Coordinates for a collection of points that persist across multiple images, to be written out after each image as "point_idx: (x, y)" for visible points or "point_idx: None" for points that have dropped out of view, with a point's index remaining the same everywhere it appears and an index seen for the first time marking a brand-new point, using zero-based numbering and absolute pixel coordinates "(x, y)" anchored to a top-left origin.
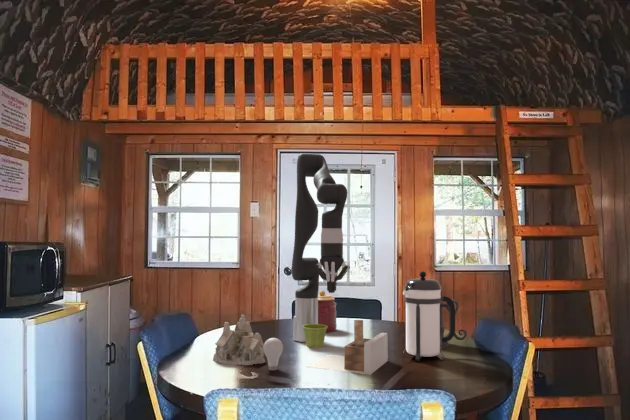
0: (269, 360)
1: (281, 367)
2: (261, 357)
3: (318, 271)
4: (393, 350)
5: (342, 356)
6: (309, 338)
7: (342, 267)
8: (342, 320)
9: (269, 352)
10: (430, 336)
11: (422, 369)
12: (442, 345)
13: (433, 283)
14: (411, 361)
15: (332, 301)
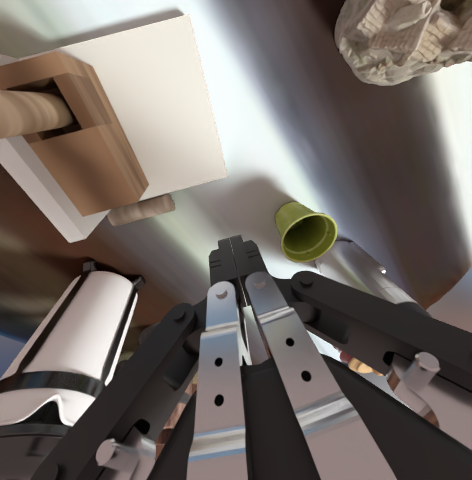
0: None
1: (270, 13)
2: (349, 22)
3: (391, 313)
4: (178, 289)
5: (193, 181)
6: (302, 209)
7: (126, 465)
8: (334, 353)
9: None
10: (51, 309)
11: (35, 225)
12: (140, 340)
13: None
14: (100, 256)
15: (348, 359)
